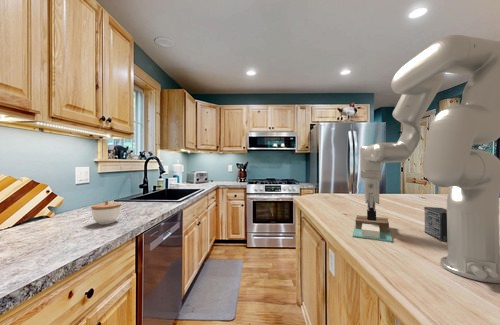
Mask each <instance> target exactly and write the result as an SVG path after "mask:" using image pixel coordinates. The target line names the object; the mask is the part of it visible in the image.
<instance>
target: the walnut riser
mask: <svg viewBox="0 0 500 325" xmlns="http://www.w3.org/2000/svg"><path fill="white" fill-rule="evenodd" d="M389 222H390V221H389V218H388V217H381V216H376V221H371V220H367V215H358V214H357V215H356V218H355V225H356V229H362V224H372V225H379V229H380V231H381V232H389V229H390V224H389Z"/></svg>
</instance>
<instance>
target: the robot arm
mask: <svg viewBox="0 0 500 325" xmlns="http://www.w3.org/2000/svg"><path fill="white" fill-rule="evenodd" d="M444 73H446V74H447V73H448V74H455V75H457V74H458V75H467V76H471V77H470V78H469V80H468V81H467V83H466V84H465V86H464V88H463V91H462V97H461V101H460V104H455V105H454V104H453V105H450V106H446V107H445V108H443V109H442V110H440V111H439V112H438V113H437V114H436V115H435V116H434V117H433V118H432V121H431V123H430V125H429V128H428V133H427V137H426V138H427V139H426V144H425V150H424V156H423V162H422V163H423V164H422V169H423V175H424V176H425V178H426V180H427V181H428V182H429V183H431V185H434V186H436V187H440V188H449V190H448V193H447V198H446V209H447V241H446V243H447V255H446V256H442V257H441V258H440V259H439V260H440V265H441V266H442V267H443V268H444V269H446V270H447V271H449V272H451V273H453V274H456V275H458V276H460V277H464V278H466V279H471V280H474V281H477V282H478V281H479V282H484V283H491V284H500V220H499V219H500V216H499V215H500V159H499V158H498V157H497V155H495V154H493V153H492V152H489V151H485V150H482V149H472V148H473V145H485V144H490V143H493V142H495V141H497V140H498V139H499V138H500V41H498V40H494V39H489V38H480V37H474V36H467V35H462V34H449V35H446V36H443V37H441V38H438V40H435V41H434V42H433V43H431V44H429V45H428V46H427V47H426V48H424V49H423V50H422V51H420V52H419V53H417V54H416V55H414V57H412V58H411V59H409V60H408V61H407V62H406V63H404V64H403V65H402V66H401V67H400V68H399V69H398V70H397V71H396V72H395V74H394V75H393V77H392V80H391V84H390V86H391V89H392V92H393V93H395V94H398V95H400V98H399V99H398V102H397V103H396V105H395V107H394V109H393V111H392V117H393V118H394V119H395V120H396V121H397V122H399V123H400V124H401V126H402V131H401V135H400V137H399V139H398V140H397V142H377V143H374V144H365V145H364V144H363V145H362V146H360V148H359V156H360V157H359V159H360V161H359V163H360V165H359V166H360V180H363V189H364V190H363V191H364V200H365V201H364V202H365V203H366V205H367V209H366V216H367V220H371V221H376V217H377V210H376V204H377V205H380V181H379V180H382V177H383V176H382V164H384V163H385V164H388V163H389V164H390V163H402V162H405V161H406V160H408V159H409V158H411V156H412V154H413V153H414V152H415V150H416V148H417V147H418V145H419V144H420V140H421V133H422V128H421V121H422V119H423V117H424V116H425V113H426V112H427V110H428V108H429V107H430V105H431V104H432V102H433V101H434V99H435V97H436V95H437V94H438V92H439V90H440V89H441V87H442V85H443V83H444V80H445V77H444Z"/></svg>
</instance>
